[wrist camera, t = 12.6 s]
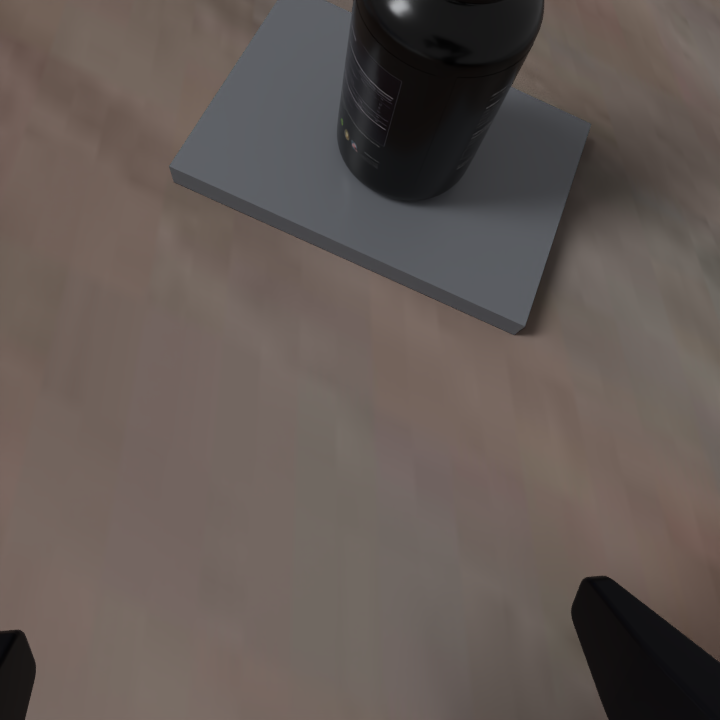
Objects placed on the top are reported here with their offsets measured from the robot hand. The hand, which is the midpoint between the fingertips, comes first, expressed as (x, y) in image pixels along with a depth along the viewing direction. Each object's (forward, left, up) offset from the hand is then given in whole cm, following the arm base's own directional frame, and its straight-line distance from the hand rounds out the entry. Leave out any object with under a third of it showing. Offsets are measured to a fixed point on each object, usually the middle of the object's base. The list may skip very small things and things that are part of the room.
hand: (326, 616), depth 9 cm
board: (+3, -20, -14) cm, 24 cm away
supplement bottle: (+3, -20, -13) cm, 23 cm away
